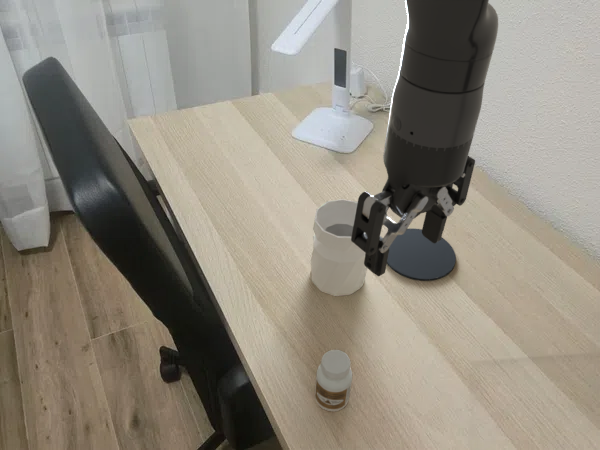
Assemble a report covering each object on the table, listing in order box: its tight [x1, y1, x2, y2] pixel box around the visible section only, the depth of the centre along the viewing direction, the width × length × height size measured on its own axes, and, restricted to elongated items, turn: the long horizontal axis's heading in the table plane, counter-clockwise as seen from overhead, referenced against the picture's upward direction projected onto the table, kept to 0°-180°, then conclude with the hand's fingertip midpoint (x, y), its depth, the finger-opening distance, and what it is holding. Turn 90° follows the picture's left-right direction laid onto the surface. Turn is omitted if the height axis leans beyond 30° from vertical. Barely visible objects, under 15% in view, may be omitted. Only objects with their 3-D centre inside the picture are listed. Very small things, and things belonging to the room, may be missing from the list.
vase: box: [310, 198, 368, 297], centre depth 82 cm, size 9×9×12 cm
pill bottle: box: [314, 349, 353, 412], centre depth 68 cm, size 4×4×8 cm
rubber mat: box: [387, 228, 457, 282], centre depth 91 cm, size 12×12×1 cm
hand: (403, 253), depth 59 cm, fingers open, 8 cm apart
